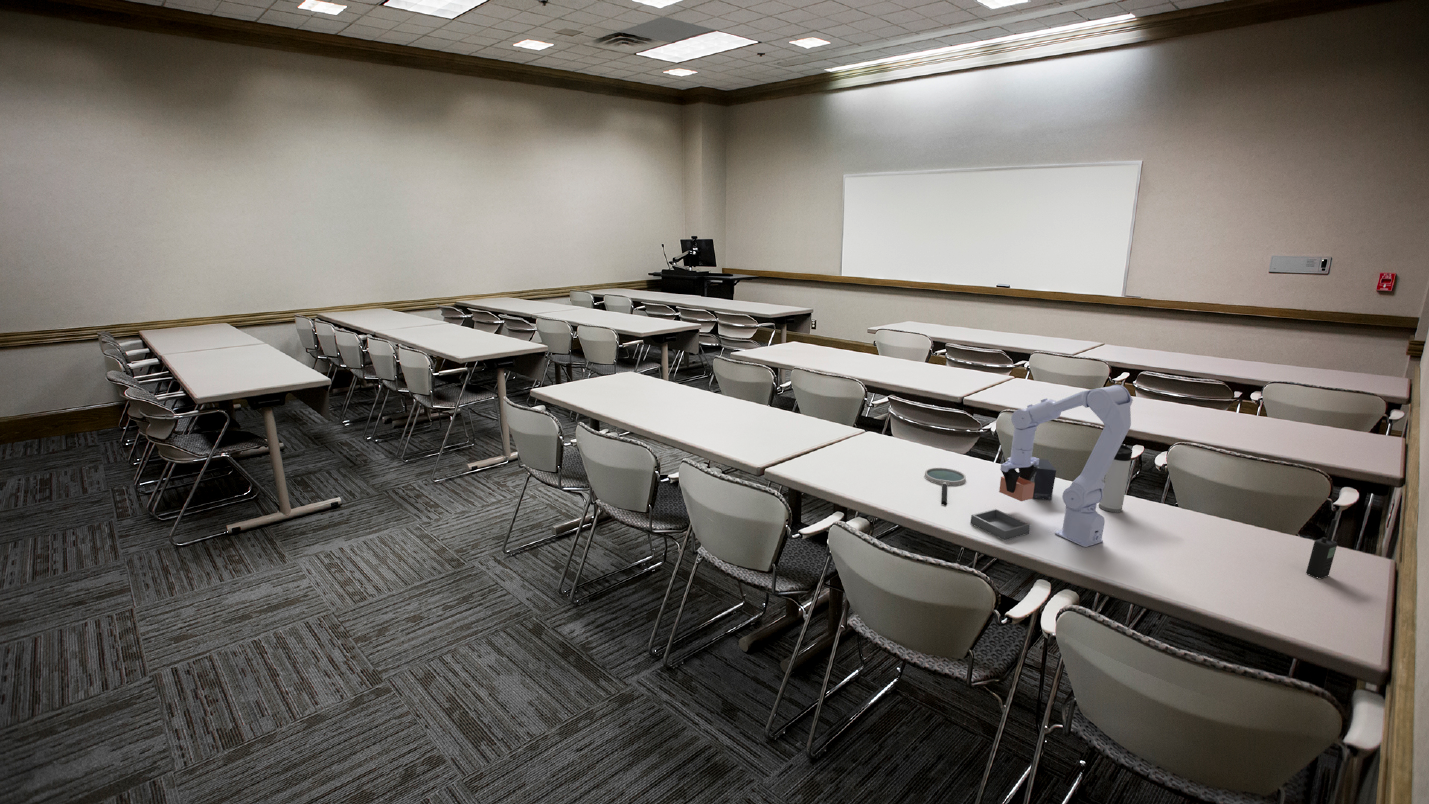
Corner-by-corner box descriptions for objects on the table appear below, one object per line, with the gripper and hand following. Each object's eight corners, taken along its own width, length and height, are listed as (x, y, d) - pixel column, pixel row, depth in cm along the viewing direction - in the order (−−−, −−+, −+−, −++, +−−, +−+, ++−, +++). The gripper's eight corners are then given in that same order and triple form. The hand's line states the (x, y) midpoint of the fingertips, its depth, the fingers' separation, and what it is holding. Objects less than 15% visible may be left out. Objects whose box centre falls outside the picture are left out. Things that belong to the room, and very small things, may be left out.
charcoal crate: (1028, 534, 190) (1030, 524, 190) (1004, 541, 186) (1005, 531, 185) (994, 518, 201) (995, 508, 200) (970, 524, 196) (971, 514, 196)
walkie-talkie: (1319, 579, 167) (1334, 524, 163) (1303, 573, 170) (1318, 518, 166) (1330, 575, 169) (1345, 521, 165) (1314, 569, 172) (1328, 515, 168)
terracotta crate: (1032, 498, 202) (1034, 482, 200) (1021, 501, 199) (1023, 485, 198) (1010, 489, 208) (1012, 474, 207) (999, 492, 206) (1001, 476, 205)
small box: (1053, 500, 213) (1057, 469, 211) (1031, 498, 214) (1035, 468, 212) (1044, 488, 223) (1048, 458, 221) (1023, 486, 224) (1027, 457, 222)
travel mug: (1124, 508, 208) (1135, 447, 203) (1118, 514, 204) (1130, 452, 198) (1101, 502, 212) (1112, 442, 207) (1096, 508, 208) (1106, 447, 202)
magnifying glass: (921, 503, 211) (922, 497, 211) (925, 470, 240) (925, 465, 239) (966, 509, 207) (967, 503, 207) (964, 475, 235) (965, 469, 235)
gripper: (1027, 440, 207) (1021, 481, 210) (994, 447, 200) (989, 489, 204) (1047, 447, 200) (1041, 489, 204) (1014, 454, 194) (1008, 497, 197)
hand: (1016, 489), depth 203 cm, fingers closed on terracotta crate, 5 cm apart
